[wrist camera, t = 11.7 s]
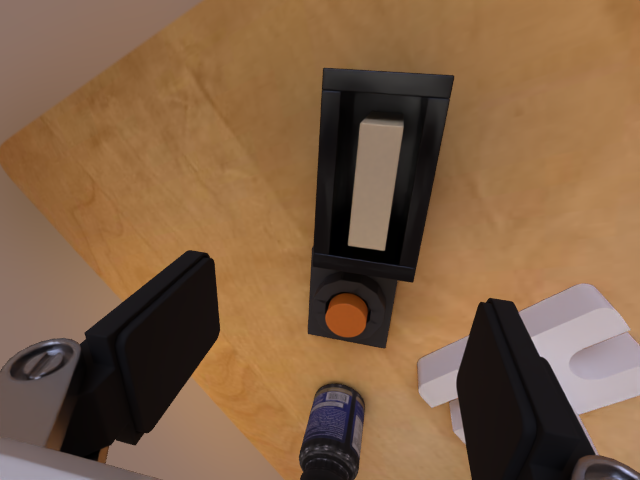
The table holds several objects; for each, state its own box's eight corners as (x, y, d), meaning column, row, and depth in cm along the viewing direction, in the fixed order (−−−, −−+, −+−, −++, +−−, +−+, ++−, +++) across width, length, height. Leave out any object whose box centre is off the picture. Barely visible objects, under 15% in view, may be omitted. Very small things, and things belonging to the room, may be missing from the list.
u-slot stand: (643, 354, 32) (747, 474, 22) (464, 419, 39) (484, 529, 30) (589, 278, 30) (676, 372, 20) (412, 361, 38) (415, 458, 28)
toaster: (343, 70, 27) (322, 67, 20) (441, 76, 26) (454, 75, 19) (331, 227, 33) (312, 267, 26) (411, 238, 32) (413, 282, 25)
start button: (330, 289, 32) (326, 300, 30) (370, 296, 31) (368, 307, 30) (327, 321, 33) (324, 333, 32) (365, 328, 33) (363, 341, 31)
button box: (317, 238, 34) (307, 256, 30) (401, 250, 33) (400, 271, 29) (312, 321, 38) (303, 345, 35) (386, 334, 37) (384, 361, 33)
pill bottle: (306, 399, 43) (278, 493, 34) (332, 372, 41) (310, 465, 31) (347, 425, 44) (331, 525, 34) (376, 400, 41) (367, 501, 31)
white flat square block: (360, 207, 31) (347, 246, 24) (371, 111, 27) (360, 122, 20) (389, 211, 30) (384, 251, 23) (403, 113, 27) (403, 126, 20)
